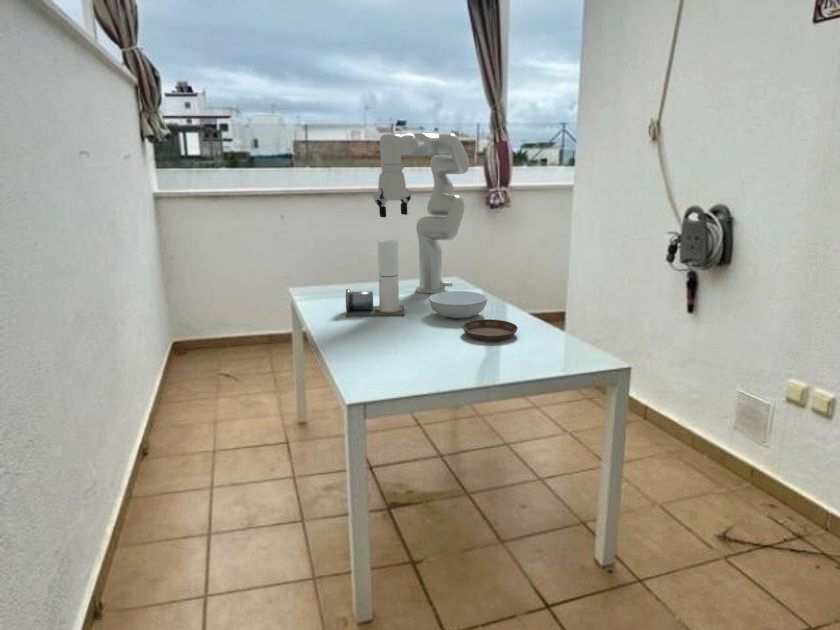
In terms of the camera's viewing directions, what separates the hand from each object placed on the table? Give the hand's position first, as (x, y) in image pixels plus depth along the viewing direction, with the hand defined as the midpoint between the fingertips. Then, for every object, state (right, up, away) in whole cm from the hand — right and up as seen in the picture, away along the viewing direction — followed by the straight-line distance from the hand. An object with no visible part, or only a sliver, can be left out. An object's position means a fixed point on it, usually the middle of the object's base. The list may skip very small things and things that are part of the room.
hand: (393, 215), depth 222 cm
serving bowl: (+24, -38, -8) cm, 45 cm away
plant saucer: (+32, -44, -32) cm, 64 cm away
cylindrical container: (-2, -35, -3) cm, 35 cm away
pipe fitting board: (-7, -36, -3) cm, 37 cm away
